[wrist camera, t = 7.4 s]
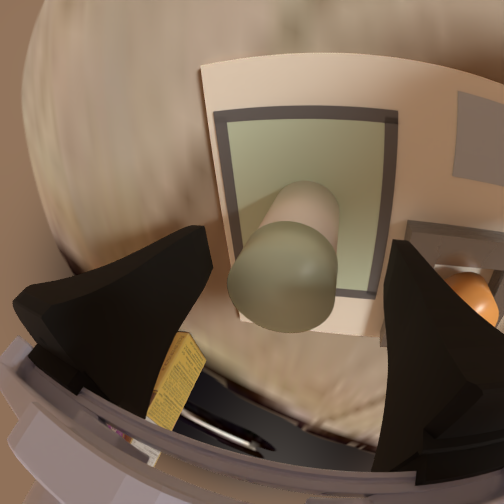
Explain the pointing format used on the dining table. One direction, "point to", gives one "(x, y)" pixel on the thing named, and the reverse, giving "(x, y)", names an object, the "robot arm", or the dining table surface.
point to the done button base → (459, 253)
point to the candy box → (171, 388)
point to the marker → (290, 262)
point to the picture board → (357, 156)
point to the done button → (475, 294)
